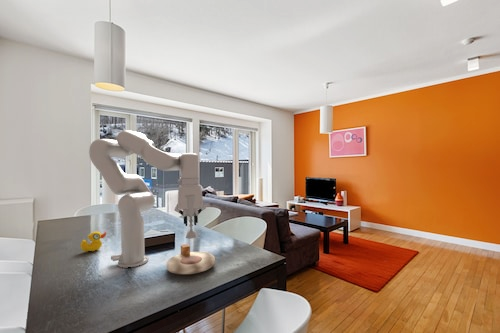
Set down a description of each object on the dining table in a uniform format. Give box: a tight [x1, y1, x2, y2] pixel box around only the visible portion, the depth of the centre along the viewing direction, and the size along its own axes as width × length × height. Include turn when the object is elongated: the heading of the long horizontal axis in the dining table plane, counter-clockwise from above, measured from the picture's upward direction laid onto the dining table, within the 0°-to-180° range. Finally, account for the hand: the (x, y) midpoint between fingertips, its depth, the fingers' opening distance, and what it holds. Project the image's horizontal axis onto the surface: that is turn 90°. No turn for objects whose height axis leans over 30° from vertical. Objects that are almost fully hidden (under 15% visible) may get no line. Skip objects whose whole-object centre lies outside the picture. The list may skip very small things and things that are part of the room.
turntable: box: [166, 243, 216, 275], centre depth 103 cm, size 20×20×6 cm
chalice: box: [185, 195, 198, 240], centre depth 103 cm, size 7×7×18 cm
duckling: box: [80, 231, 107, 253], centre depth 126 cm, size 11×5×10 cm, turn 126°
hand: (190, 224), depth 103 cm, fingers closed on chalice, 3 cm apart
